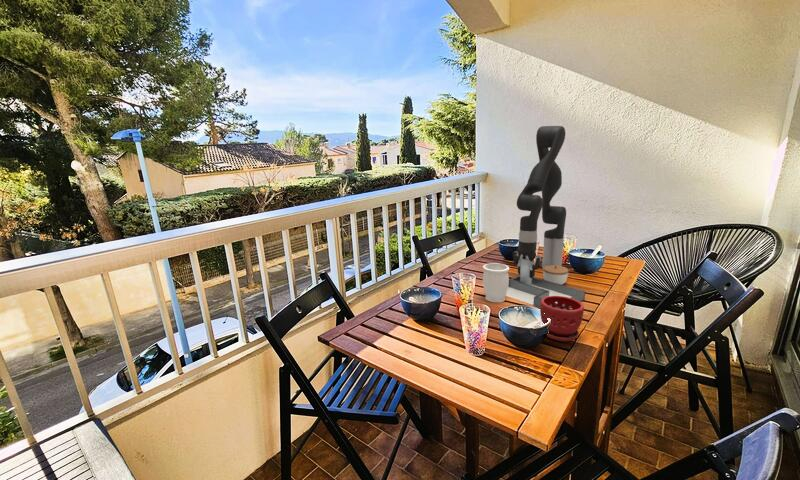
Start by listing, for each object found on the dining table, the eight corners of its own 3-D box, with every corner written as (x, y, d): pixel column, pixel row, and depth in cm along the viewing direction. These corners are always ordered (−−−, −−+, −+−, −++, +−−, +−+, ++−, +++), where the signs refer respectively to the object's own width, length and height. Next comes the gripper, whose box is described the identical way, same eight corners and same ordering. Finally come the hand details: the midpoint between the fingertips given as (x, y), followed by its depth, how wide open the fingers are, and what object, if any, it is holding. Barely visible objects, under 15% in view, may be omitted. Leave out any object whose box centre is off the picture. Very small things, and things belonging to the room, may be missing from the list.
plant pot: (586, 345, 110) (589, 311, 107) (542, 343, 112) (545, 309, 109) (574, 326, 122) (577, 295, 119) (535, 323, 125) (537, 293, 122)
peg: (523, 280, 159) (525, 256, 156) (533, 283, 155) (535, 258, 152) (517, 283, 156) (518, 258, 153) (527, 286, 152) (528, 261, 150)
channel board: (522, 282, 164) (522, 280, 163) (584, 300, 141) (584, 299, 141) (496, 293, 152) (496, 292, 152) (559, 316, 130) (559, 314, 129)
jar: (479, 302, 144) (480, 269, 140) (485, 293, 153) (486, 261, 149) (505, 306, 139) (506, 272, 135) (510, 297, 148) (511, 264, 144)
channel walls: (522, 280, 163) (522, 273, 163) (584, 299, 141) (585, 291, 140) (496, 292, 152) (496, 284, 151) (559, 314, 129) (560, 305, 128)
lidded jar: (562, 280, 164) (563, 261, 162) (570, 288, 154) (572, 269, 152) (539, 280, 165) (540, 261, 163) (546, 288, 155) (547, 269, 153)
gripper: (547, 241, 147) (545, 277, 152) (518, 235, 158) (516, 270, 163) (537, 244, 143) (535, 282, 147) (508, 238, 154) (507, 274, 158)
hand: (525, 275), depth 155 cm, fingers closed on peg, 5 cm apart
